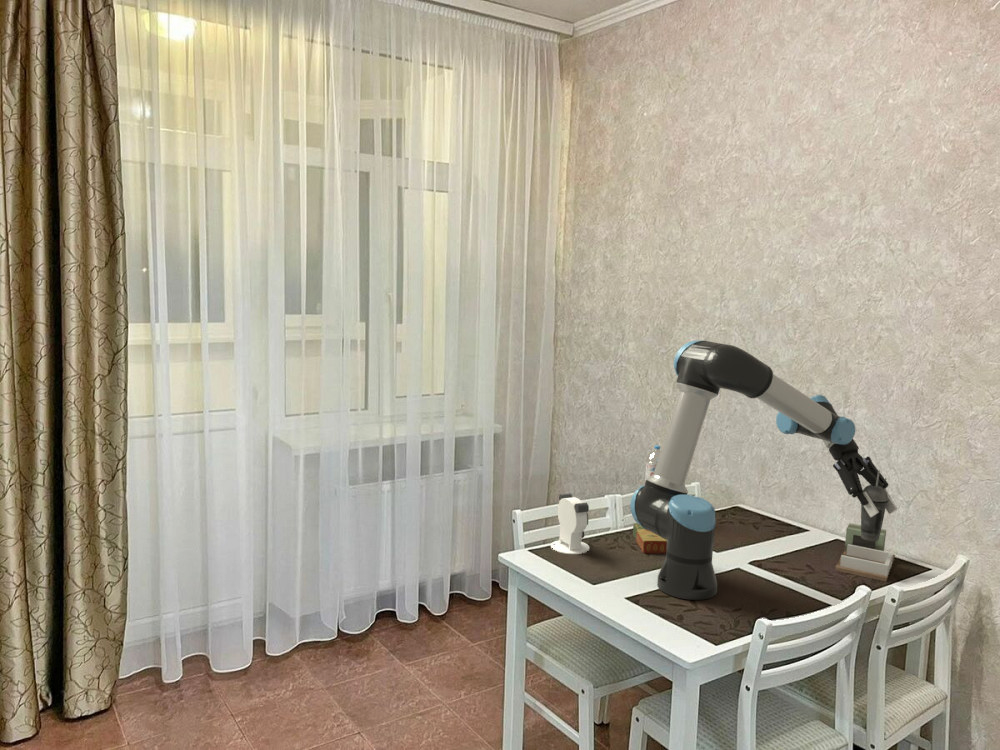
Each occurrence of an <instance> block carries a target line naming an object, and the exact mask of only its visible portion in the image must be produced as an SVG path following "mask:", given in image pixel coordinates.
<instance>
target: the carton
mask: <svg viewBox="0 0 1000 750" xmlns="http://www.w3.org/2000/svg"><path fill="white" fill-rule="evenodd" d="M632 529H633V531H632V536H633V538H634V537H635V538H634V539H636V540H635V541H636V543H637V545H638V546H640V547H639V548H641V549H640V551H641V553H642V554H659V553H666V549H667V540H666V539H664V538H662V537H660V536H658V535H656V534H655V533H653V532H651V531H648V530H646V529H644V528H643V527H642V526H641V525H639V524H638V523H633V527H632Z"/></svg>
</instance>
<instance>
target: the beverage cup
mask: <svg viewBox="0 0 1000 750" xmlns="http://www.w3.org/2000/svg"><path fill="white" fill-rule="evenodd" d="M879 473H881V471H880V470H878V474H877V480H876V485H875V484H872V485H870V484H869V485H866V486H865V487H864V488H862V489H863V492H867V494H868V495H869V497H870V499H871V500H872V502H873V503H874V505H875V507H876V508H877V510H878V511H879V513H877V514H876V515H874V516H873V517H870V516H869V514H868V513H867V511H866V509H865V508H864V506H863V505H862V504H861V503H860V525H861V538H863V539H865V540H868V541H878V540H879V536H880V533H881V529H883V524H884V523H883V522H884V518H885V512H886V507H887V503H888V495H887V492H888V491H887V490H886V491H887V492H886V491H885V489H884V488H883V487H881V486H879V485H878V480H879ZM863 492H862V493H863Z"/></svg>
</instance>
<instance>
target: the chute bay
mask: <svg viewBox="0 0 1000 750" xmlns="http://www.w3.org/2000/svg"><path fill="white" fill-rule="evenodd" d="M846 555H850V556H855V557H860V558H864V559H869V560H874V561H879V562H884V563H885V564H883V563H878V562H873V561H868V560H864V559H859V558H854V557H849V556H844V555H842V554H841V556H840V558H841V562H840V566H841V567H846V568H851V569H855V570H860V571H865V572H869V573H874V574H879V575H883V576H888V573H889V570H890V568H891V569H892V567H891V565H892V560H893V555H894V552H889V551H885V550H884V551H881V550H875V549H870V548H865V547H860V546H855V545H850V544H848V545H847V554H846ZM892 566H893V565H892ZM890 571H891V570H890ZM889 574H890V573H889ZM888 577H889V576H888Z"/></svg>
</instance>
